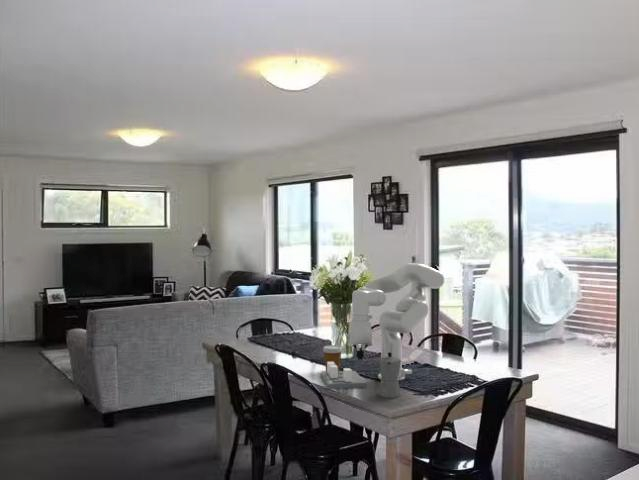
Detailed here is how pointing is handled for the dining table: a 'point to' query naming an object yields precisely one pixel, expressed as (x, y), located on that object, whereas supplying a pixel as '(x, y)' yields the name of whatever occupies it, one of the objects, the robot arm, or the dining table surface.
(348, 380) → the breaker
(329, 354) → the disposable coffee cup
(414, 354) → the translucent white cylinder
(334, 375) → the breaker
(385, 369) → the coffeepot
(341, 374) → the grey flat slab
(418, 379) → the dining table surface
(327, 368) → the breaker
